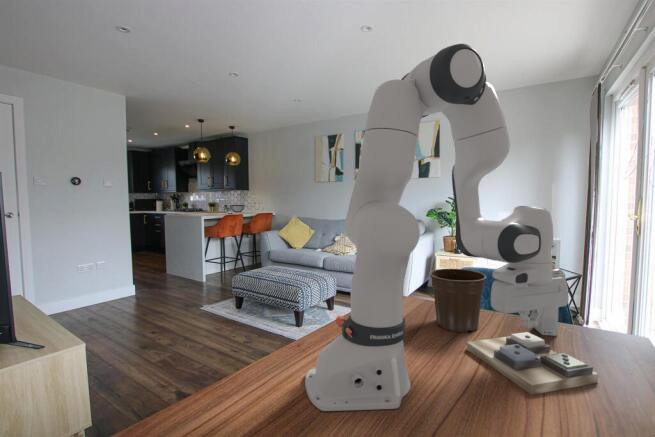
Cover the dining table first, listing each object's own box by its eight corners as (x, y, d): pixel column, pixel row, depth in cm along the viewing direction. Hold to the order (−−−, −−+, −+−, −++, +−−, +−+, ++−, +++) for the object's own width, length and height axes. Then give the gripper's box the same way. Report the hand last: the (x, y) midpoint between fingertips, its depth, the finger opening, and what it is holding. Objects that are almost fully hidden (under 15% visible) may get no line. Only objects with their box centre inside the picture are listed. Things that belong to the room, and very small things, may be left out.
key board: (531, 394, 64) (532, 377, 64) (466, 349, 84) (467, 336, 84) (597, 382, 68) (598, 366, 68) (520, 342, 88) (521, 329, 88)
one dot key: (527, 349, 77) (527, 341, 77) (511, 340, 82) (511, 333, 82) (544, 347, 78) (544, 339, 78) (527, 338, 83) (527, 331, 83)
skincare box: (558, 336, 91) (559, 295, 90) (541, 335, 92) (542, 294, 91) (548, 327, 97) (549, 289, 96) (532, 326, 98) (533, 288, 97)
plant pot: (426, 330, 96) (427, 277, 95) (431, 312, 111) (431, 266, 110) (487, 339, 90) (488, 282, 89) (483, 319, 104) (484, 270, 103)
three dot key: (567, 375, 68) (567, 366, 68) (545, 363, 72) (546, 354, 72) (585, 372, 69) (586, 363, 69) (563, 360, 74) (564, 352, 74)
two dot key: (516, 364, 71) (516, 355, 70) (499, 353, 75) (499, 345, 75) (535, 361, 72) (535, 352, 72) (517, 351, 77) (517, 343, 76)
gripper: (553, 265, 85) (552, 317, 85) (486, 271, 80) (486, 326, 81) (576, 271, 78) (575, 326, 79) (506, 278, 74) (505, 336, 75)
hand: (529, 326), depth 80 cm, fingers closed
